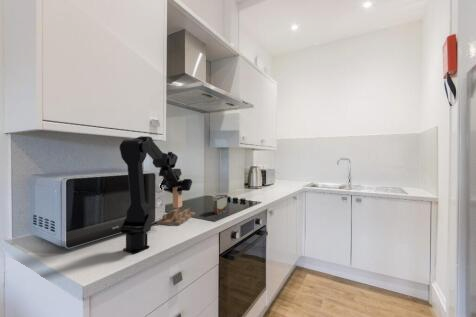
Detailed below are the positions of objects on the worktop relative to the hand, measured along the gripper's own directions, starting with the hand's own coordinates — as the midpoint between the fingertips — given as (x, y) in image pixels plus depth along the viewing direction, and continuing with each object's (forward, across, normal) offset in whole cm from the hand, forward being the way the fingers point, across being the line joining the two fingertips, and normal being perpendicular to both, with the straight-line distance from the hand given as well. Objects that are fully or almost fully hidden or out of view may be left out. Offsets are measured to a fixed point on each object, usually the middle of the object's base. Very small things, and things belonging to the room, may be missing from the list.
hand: (178, 194), depth 120 cm
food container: (+22, -18, -3) cm, 28 cm away
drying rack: (+9, 0, +10) cm, 13 cm away
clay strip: (+4, 0, +6) cm, 7 cm away
